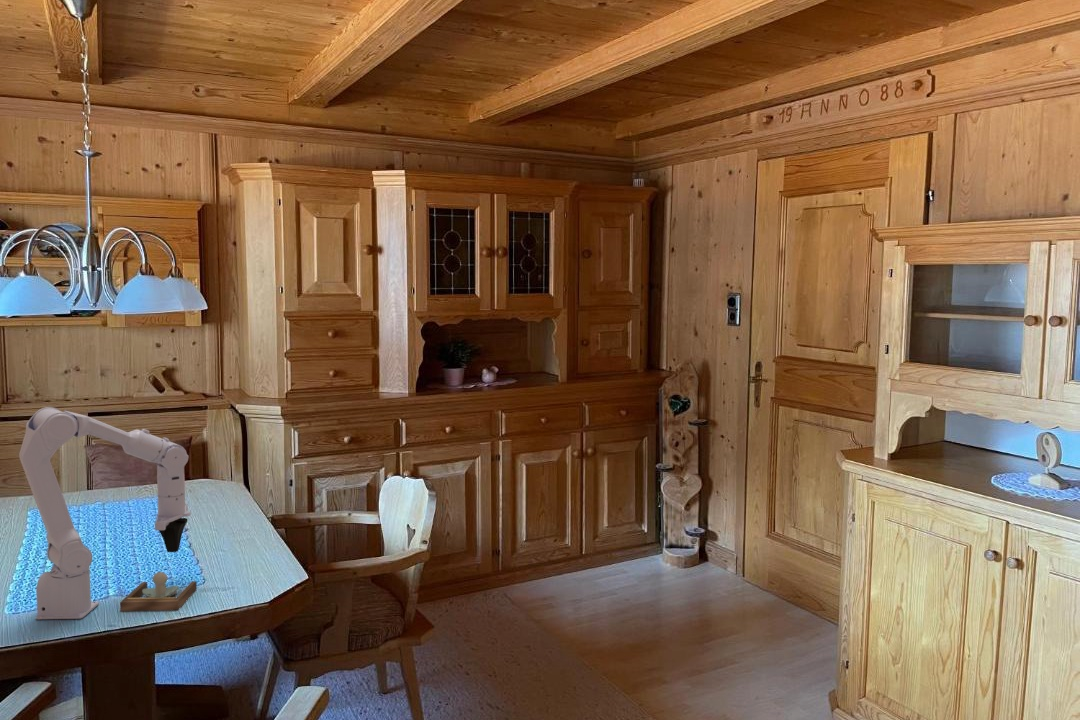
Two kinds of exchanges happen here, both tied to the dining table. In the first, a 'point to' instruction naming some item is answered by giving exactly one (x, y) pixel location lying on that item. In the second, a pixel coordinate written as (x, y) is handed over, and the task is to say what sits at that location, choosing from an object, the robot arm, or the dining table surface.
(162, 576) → the pacifier
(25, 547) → the dining table surface
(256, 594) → the dining table surface
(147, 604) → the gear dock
